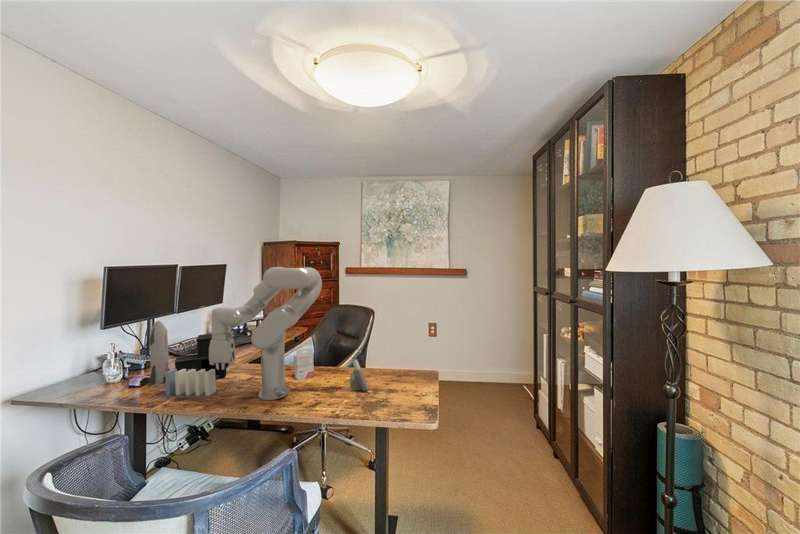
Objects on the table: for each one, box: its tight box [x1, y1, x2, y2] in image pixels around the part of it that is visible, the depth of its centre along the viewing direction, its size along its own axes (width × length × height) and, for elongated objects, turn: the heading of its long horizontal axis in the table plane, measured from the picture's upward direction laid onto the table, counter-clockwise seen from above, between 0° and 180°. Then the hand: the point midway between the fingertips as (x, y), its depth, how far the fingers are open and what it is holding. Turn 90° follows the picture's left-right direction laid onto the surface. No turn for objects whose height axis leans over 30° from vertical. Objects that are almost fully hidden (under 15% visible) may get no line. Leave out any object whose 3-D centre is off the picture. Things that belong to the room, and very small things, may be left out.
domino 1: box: [165, 368, 177, 395], centre depth 157 cm, size 2×5×10 cm, turn 176°
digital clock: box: [349, 359, 369, 392], centre depth 163 cm, size 16×9×11 cm, turn 1°
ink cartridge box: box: [293, 347, 315, 381], centre depth 177 cm, size 9×5×15 cm, turn 120°
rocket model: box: [148, 320, 171, 387], centre depth 173 cm, size 14×7×30 cm, turn 177°
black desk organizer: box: [174, 333, 219, 380], centre depth 176 cm, size 23×11×24 cm, turn 114°
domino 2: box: [175, 369, 186, 395], centre depth 157 cm, size 2×5×10 cm, turn 176°
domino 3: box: [185, 369, 196, 395], centre depth 156 cm, size 2×5×10 cm, turn 176°
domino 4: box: [195, 369, 206, 396], centre depth 156 cm, size 2×5×10 cm, turn 176°
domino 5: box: [205, 369, 217, 396], centre depth 156 cm, size 2×5×10 cm, turn 176°
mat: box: [157, 388, 223, 399], centre depth 157 cm, size 23×10×1 cm, turn 86°
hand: (222, 377), depth 155 cm, fingers closed
